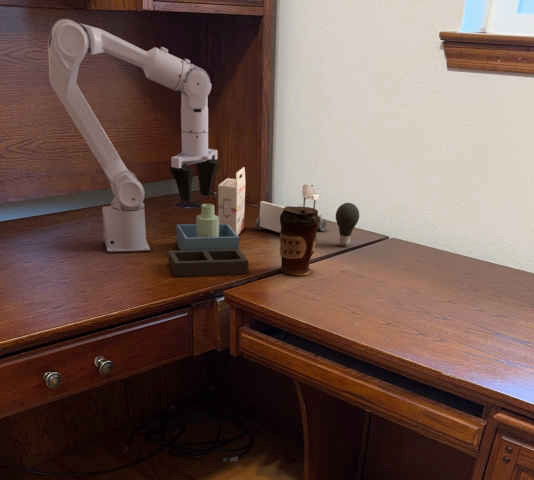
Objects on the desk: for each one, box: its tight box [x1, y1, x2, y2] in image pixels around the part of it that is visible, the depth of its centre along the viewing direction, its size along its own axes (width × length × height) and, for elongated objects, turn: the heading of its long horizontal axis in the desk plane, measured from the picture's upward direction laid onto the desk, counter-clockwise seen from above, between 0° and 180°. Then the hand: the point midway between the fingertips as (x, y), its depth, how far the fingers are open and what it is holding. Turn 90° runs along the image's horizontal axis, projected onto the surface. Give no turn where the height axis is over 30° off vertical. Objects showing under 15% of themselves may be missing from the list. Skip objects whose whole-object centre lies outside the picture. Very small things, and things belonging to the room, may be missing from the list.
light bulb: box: [335, 202, 360, 248], centre depth 160 cm, size 6×6×10 cm
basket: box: [176, 223, 240, 251], centre depth 152 cm, size 12×11×4 cm
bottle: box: [195, 203, 219, 238], centre depth 151 cm, size 5×5×10 cm
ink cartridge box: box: [217, 166, 246, 236], centre depth 163 cm, size 9×5×15 cm, turn 168°
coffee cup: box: [279, 205, 320, 276], centre depth 141 cm, size 9×8×13 cm
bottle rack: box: [167, 248, 249, 277], centre depth 142 cm, size 16×8×3 cm, turn 106°
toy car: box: [254, 184, 328, 233], centre depth 169 cm, size 18×10×12 cm
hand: (195, 197), depth 151 cm, fingers open, 7 cm apart
